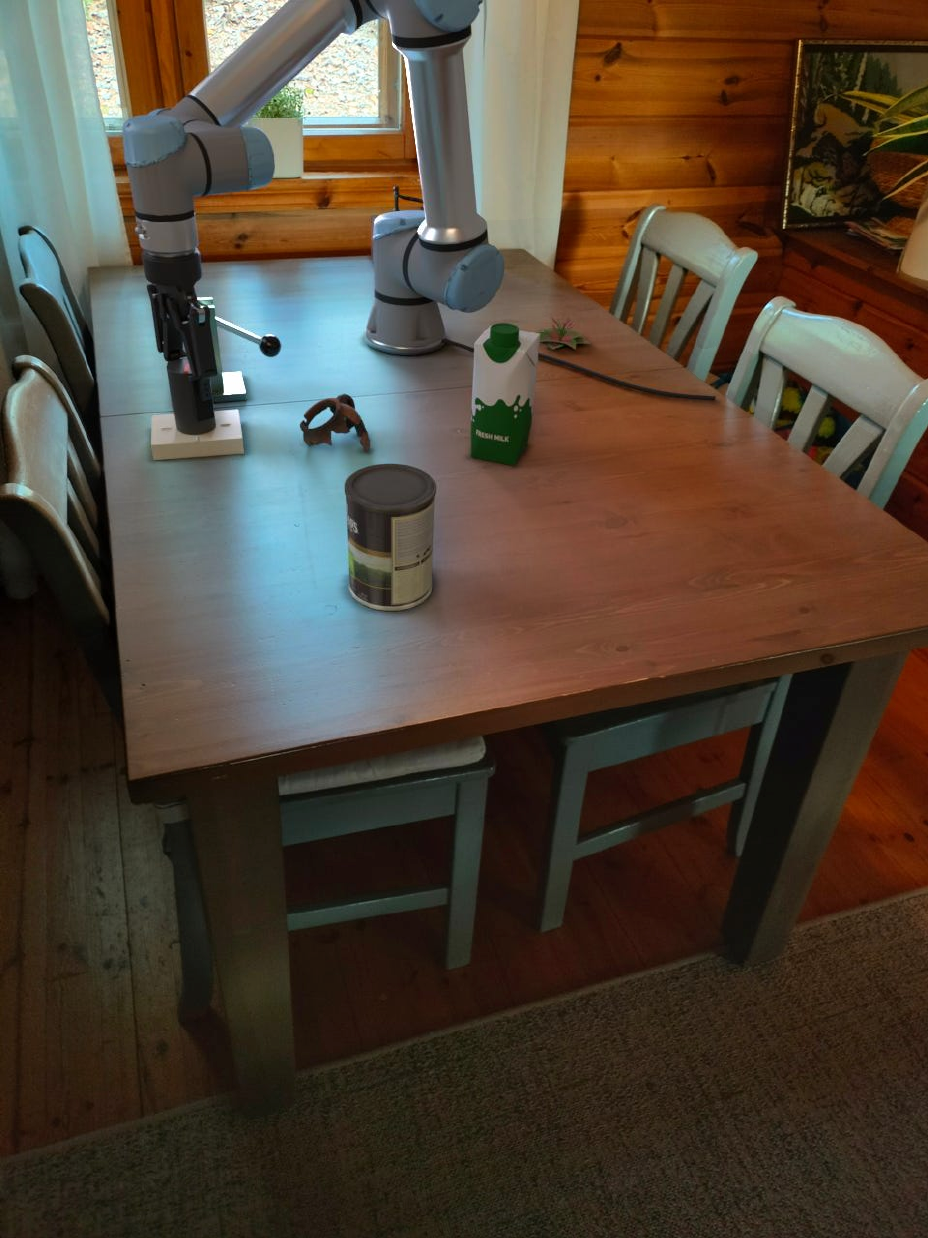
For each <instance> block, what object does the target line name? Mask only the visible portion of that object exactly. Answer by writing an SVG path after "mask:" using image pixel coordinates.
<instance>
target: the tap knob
mask: <svg viewBox="0 0 928 1238" xmlns="http://www.w3.org/2000/svg"><path fill="white" fill-rule="evenodd" d="M167 363H168V362H167ZM166 373H167V378H168V379H167V380H168V385H169V391H170V392H169V393H170V398H171V404H172V411H173V414H174V417H175V423H176V428H177V430H178V431H179V432H181V433H183V434H188V435H199V434H204V433H208V432H210V431H212V430H213V429H214V428H215V427H216V420H215V417H214V418H210V419H207V420H203V421H200V422H197V421H196V420H195V414H194V407H193V400H192V393H191V386H190V381H189V380H188V377H190V376H192V373H191V369H190V366H189V362H188V358H187V357H183V358H180V359H177V360H174V361H171V362H170V363H168V364H166ZM210 386H211V382H210ZM211 394H212V390H211ZM212 401H213V398H212ZM213 409H214V410H215V405H214V404H213ZM214 416H215V413H214Z"/></svg>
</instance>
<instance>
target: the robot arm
mask: <svg viewBox="0 0 928 1238" xmlns="http://www.w3.org/2000/svg"><path fill="white" fill-rule="evenodd" d="M483 2H484V0H288V1H286V3H284V4H283V5H282V6H281V7H280V8H279V9H278V10H277V11H275V13H273V15H272V16H270V17H269V18H268V19H267V20H266V21H265V22H264V23H263V24H262V25H261V26H259V28H257V30H255V31H254V32H252V34H251V35H250V36H249V37H248V38H247V39H245V40H244V41H243V42H242V43H241V44H240V45H239V46H238V47H237V48H236V49H235V50H234V51H233V52H232V53H231V54H230V55H228V57H227V58H225V59H224V60H223V61H222V62H221V63H220V64H219V65H218V66H217V67H216V68H214V69H213V71H211V72H210V73H209V74H208V75H207V76H205V78H204V79H203V80H201V82H199V83H198V84H197V85H196V86H195V87H194V88H193V89H192V90H191V91H190V92H189V93H188V94H187V95H185V97H184V98H182V99H181V100H180V101H179V102H177V104H175V105H174V106H173V107H172V108H169V107H164V108H157V109H154V110H151V111H150V112H149V113H148V114H144V115H136V116H132V117H129V118H127V119H126V120H125V121H124V122H123V124H122V127H121V131H122V133H121V134H122V144H123V146H122V147H123V154H124V157H123V159H124V164H125V165H126V170H127V176H128V181H129V186H130V187H129V188H130V190H131V198H132V203H133V209H134V210H133V211H134V216H135V221H136V227H134V231H135V234H136V235H137V236H138V240H139V245H140V248H141V249H143V251H142V252H141V261H142V266H143V272H144V277H145V279H146V281H147V282H148V283H149V284H146V290H147V294H148V298H149V301H150V302H149V303H150V307H151V308H150V309H151V314H152V322H153V330H154V337H155V343H156V349H157V352H158V353H159V354H162V353H163V359H164V360H165V362H167V364H168V363H170V362H171V361H174V360H177V359H182V358H188V362H189V366H190V369H191V373H192V376H190V377H188V380H189V381H190V386H191V393H192V400H193V407H194V414H195V420H196V421H197V422H200V421H203V420H207V419H210V418H214V417H215V416H214V411H215V408H214V409H213V405H214V402H213V401H212V394H211V386H210V378H211V377H215V376H217V375H218V372H217V366H216V359H215V353H214V346H213V340H212V334H211V327H210V309H209V307H208V306H204V307H201V306H200V305H199V304H198V299H197V298H198V296H197V292H196V289H195V285H196V284H197V283H198V282H199V281H200V280H202V278H203V275H204V274H203V266H202V259H201V252H200V250H199V249H198V248H197V247H199V246H200V241H199V232H198V224H197V217H196V212H195V211H196V210H195V201H194V198H201V197H207V196H214V195H215V196H216V195H222V194H229V193H230V194H231V193H239V192H245V191H246V192H250V191H253V190H256V189H261V188H264V187H266V186H268V185H269V184H270V183H271V182H272V180H273V178H274V176H275V170H276V164H275V153H274V149H273V147H272V144H271V141H270V139H269V137H268V135H267V134H266V133H265V132H264V131H263V130H262V129H261V128H259V127H258V126H244V125H246V124H247V123H248V122H249V121H250V120H251V119H252V118H254V116H255V115H256V114H258V113H259V111H261V110H262V109H263V108H264V107H265V106H266V105H267V104H268V103H269V102H270V101H271V100H273V98H275V96H277V95H278V93H280V92H281V91H282V90H283V89H284V88H285V87H286V86H288V84H289V83H291V82H292V81H293V80H294V79H295V78H296V77H297V76H298V75H299V74H300V73H301V72H302V71H304V69H305V68H307V66H308V65H310V64H311V63H312V62H313V61H314V60H315V59H316V58H317V57H318V56H320V54H321V53H323V51H325V49H327V47H329V46H330V45H331V44H332V43H333V42H334V41H335V40H337V39H338V37H340V35H342V36H345V37H346V36H348V37H350V36H352V35H353V34H354V33H356V32H357V31H358V29H360V28H361V27H362V26H364V25H366V24H368V23H370V22H373V21H376V20H387V21H389V29H390V36H391V42H392V46H393V48H395V50H397V52H399V53H400V54H401V55H402V56H403V57H404V63H405V69H406V78H407V86H408V93H409V100H410V108H411V118H412V124H413V131H414V133H413V134H414V139H415V140H414V141H415V148H416V155H417V164H418V173H419V178H420V188H421V195H422V200H423V204H422V205H423V209H410V210H409V209H407V210H400V211H396V212H390V211H389V212H390V213H388V212H386V213H385V212H384V213H383V214H379V215H380V216H379V217H378V218H377V219H376V220H375V222H374V233H373V238H372V240H373V255H374V261H373V285H374V287H373V290H374V293H373V295H374V298H373V304H372V306H371V310H370V312H369V316H368V320H367V323H366V327H365V330H364V331H365V332H364V333H365V343H366V344H367V345H368V346H369V347H370V348H372V349H374V350H376V351H379V352H382V353H385V354H391V355H397V356H398V355H399V356H417V355H424V354H430V353H433V352H437V351H438V350H440V349H441V348H442V347H444V345H445V344H446V345H451V346H453V347H457V348H460V349H463V350H466V351H468V352H470V353H474V347H471V346H468V345H466V344H463V343H461V342H457V341H454V340H451V339H448V338H446V333H447V332H446V329H445V325H444V321H443V318H442V314H441V310H440V307H439V303H440V304H441V305H443V306H446V308H448V309H450V310H452V311H459V312H462V313H466V314H470V313H471V314H472V313H475V312H478V311H480V310H482V309H483V308H485V307H486V306H488V305H489V304H490V303H491V302H492V300H493V299H494V298H495V296H496V294H497V292H498V291H499V290H500V287H501V285H502V282H503V279H504V275H505V260H504V256H503V254H502V252H501V251H500V250H499V249H498V248H497V247H496V246H495V245H493V244H491V243H489V242H490V241H489V231H488V230H489V229H488V222H487V221H486V219H485V218H484V217H483V216H481V214H479V213H478V209H477V208H478V207H477V199H476V198H477V197H476V186H475V175H474V165H473V155H472V154H473V153H472V152H473V151H472V141H471V130H470V118H469V117H470V116H469V107H468V96H467V83H466V71H465V60H464V48H465V46H467V43H468V42H469V40H470V39H471V37H472V35H473V32H472V31H473V30H472V24H473V22H474V21H475V20H476V19H477V17H478V16H479V13H480V11H481V9H480V5H482V4H483ZM187 321H189V322H188V323H187ZM538 358H540V359H544V360H547V361H550V362H553V363H556V364H560V365H563V366H565V367H569V368H571V369H574V370H576V371H579V372H582V373H584V374H587V375H589V376H593V377H595V378H598V379H601V380H604V381H607V382H610V383H613V384H616V385H618V386H622V387H625V388H629V389H633V390H637V391H640V392H645V393H649V394H654V395H659V396H664V397H670V398H678V399H685V400H686V399H687V400H698V401H699V400H700V401H713V402H714V401H715V402H716V400H717V399H716V398H717V396H716V395H705V394H704V395H703V394H691V393H681V392H672V391H666V390H660V389H654V388H650V387H646V386H641V385H638V384H634V383H630V382H627V381H623V380H619V379H616V378H615V377H611V376H608V375H605V374H603V373H600V372H597V371H594V370H591V369H589V368H585V367H583V366H580V365H577V364H575V363H572V362H569V361H567V360H563V359H560V358H557V357H555V356H550V355H548V354H544V353H541V352H538ZM167 364H166V365H167Z"/></svg>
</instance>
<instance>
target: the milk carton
mask: <svg viewBox="0 0 928 1238" xmlns="http://www.w3.org/2000/svg"><path fill="white" fill-rule="evenodd" d="M539 341H540V334H539V333H535V332H533V331H526V330H520V328H519V327H518V325H515V324H511V323H508V322H507V323H506V322H505V323H504V322H501V323H495V324H491V325H490V326H489V327H488V328H487V329H485V330H484V331H483V332H482V333H481V335H479V337H478V338H477V339H476V341H475V342H474V344H473V345H474V347H473V348H474V352H473V356H474V357H473V371H472V372H473V373H472V390H471V391H472V392H471V409H470V410H471V412H470V458H473V459H479V460H482V461H483V460H484V461H487V462H493V463H498V464H502V465H503V464H504V465H508V466H513V467H515V465H516V464H517V463H518V461H519V459H520V458H521V457H522V455H523V454H524V452H525V450H526V449H527V447H528V444H529V439H530V433H531V429H532V423H533V414H534V406H535V405H534V404H535V403H534V402H535V394H536V385H537V374H538V364H539V357H538V353H539V349H540V342H539Z"/></svg>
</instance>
